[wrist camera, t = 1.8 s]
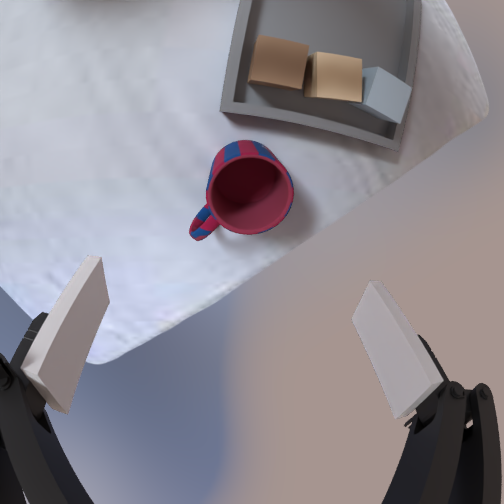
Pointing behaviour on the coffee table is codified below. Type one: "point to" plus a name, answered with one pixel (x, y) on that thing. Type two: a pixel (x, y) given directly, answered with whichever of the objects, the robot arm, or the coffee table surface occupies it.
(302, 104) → the tray
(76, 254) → the coffee table surface
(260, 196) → the mug
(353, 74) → the block beech
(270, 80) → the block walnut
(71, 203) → the coffee table surface
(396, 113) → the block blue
